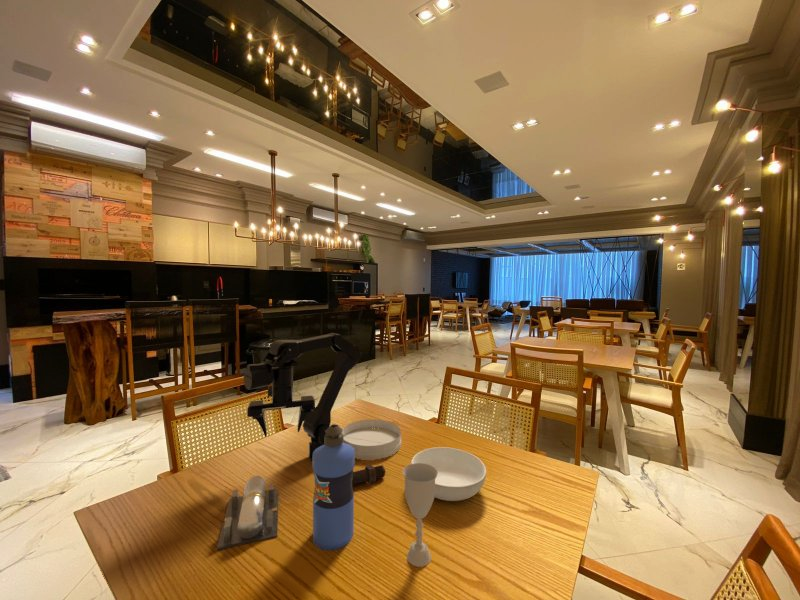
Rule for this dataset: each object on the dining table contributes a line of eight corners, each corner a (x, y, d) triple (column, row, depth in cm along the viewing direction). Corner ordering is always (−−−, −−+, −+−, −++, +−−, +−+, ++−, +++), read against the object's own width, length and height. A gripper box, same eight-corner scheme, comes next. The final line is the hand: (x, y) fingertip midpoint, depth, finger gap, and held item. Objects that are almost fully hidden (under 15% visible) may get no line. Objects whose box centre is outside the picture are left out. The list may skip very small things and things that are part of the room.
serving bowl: (488, 519, 79) (489, 491, 79) (404, 506, 83) (404, 480, 83) (484, 472, 99) (484, 450, 99) (416, 464, 103) (416, 443, 103)
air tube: (265, 493, 87) (266, 474, 87) (261, 535, 72) (262, 513, 72) (244, 496, 85) (245, 477, 85) (236, 540, 70) (237, 517, 70)
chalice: (436, 545, 70) (437, 464, 70) (436, 572, 64) (438, 483, 63) (403, 542, 71) (403, 462, 71) (400, 568, 64) (400, 480, 64)
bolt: (384, 484, 96) (335, 497, 88) (378, 468, 99) (330, 480, 92) (389, 472, 93) (339, 485, 86) (383, 457, 97) (334, 467, 90)
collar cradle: (278, 491, 88) (278, 478, 88) (277, 536, 72) (277, 520, 72) (229, 501, 84) (229, 487, 84) (216, 550, 68) (216, 533, 68)
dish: (328, 455, 109) (328, 440, 109) (355, 428, 130) (355, 416, 130) (390, 466, 103) (390, 450, 102) (408, 436, 124) (408, 423, 124)
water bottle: (336, 514, 80) (336, 414, 79) (362, 532, 74) (363, 425, 73) (303, 536, 73) (303, 426, 72) (330, 558, 67) (330, 439, 66)
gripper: (312, 373, 108) (312, 419, 108) (250, 378, 101) (251, 427, 102) (315, 382, 97) (315, 433, 98) (247, 388, 91) (247, 442, 91)
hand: (282, 433), depth 97 cm, fingers open, 9 cm apart
